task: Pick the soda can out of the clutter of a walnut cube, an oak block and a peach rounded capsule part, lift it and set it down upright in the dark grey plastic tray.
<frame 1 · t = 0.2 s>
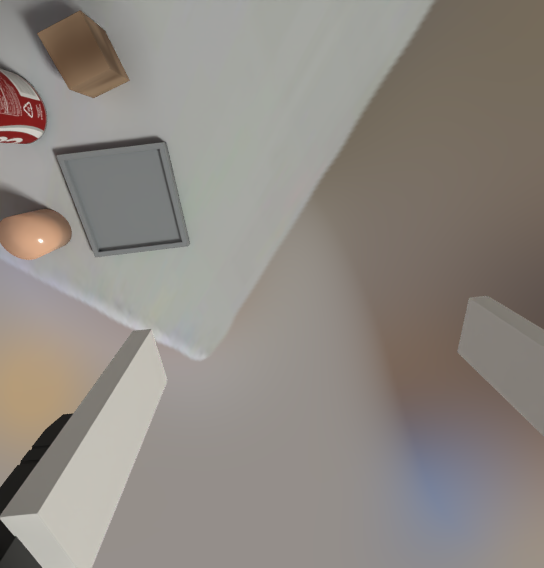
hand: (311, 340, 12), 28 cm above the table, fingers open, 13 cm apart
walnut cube: (99, 65, 30), on the table
tray: (130, 202, 36), on the table
soda can: (19, 110, 32), on the table
peach rounded capsule part: (51, 228, 37), on the table
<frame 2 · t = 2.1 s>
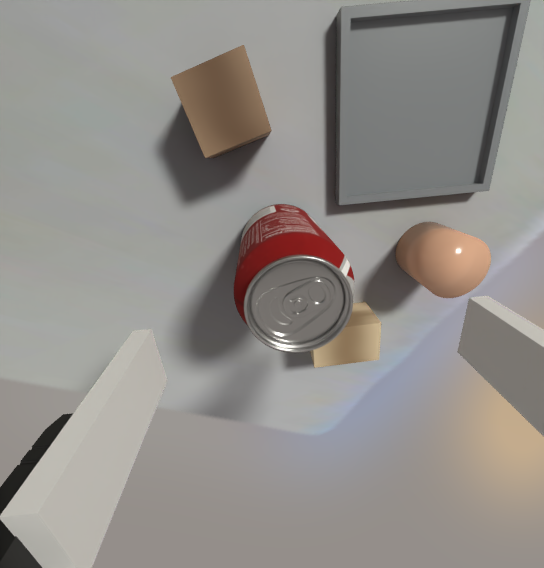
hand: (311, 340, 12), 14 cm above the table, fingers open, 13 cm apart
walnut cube: (229, 114, 21), on the table
oak block: (335, 322, 29), on the table
tray: (416, 112, 22), on the table
soda can: (279, 241, 25), on the table
peach rounded capsule part: (422, 248, 26), on the table
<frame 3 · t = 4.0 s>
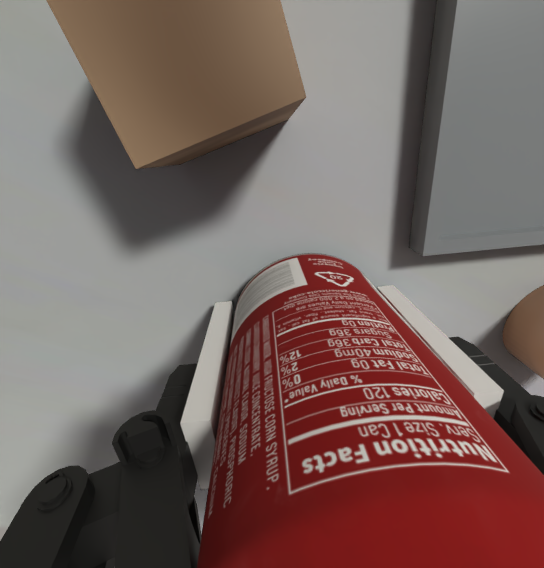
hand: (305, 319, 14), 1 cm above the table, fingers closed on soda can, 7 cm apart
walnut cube: (207, 76, 10), on the table
soda can: (303, 311, 14), on the table, touching gripper
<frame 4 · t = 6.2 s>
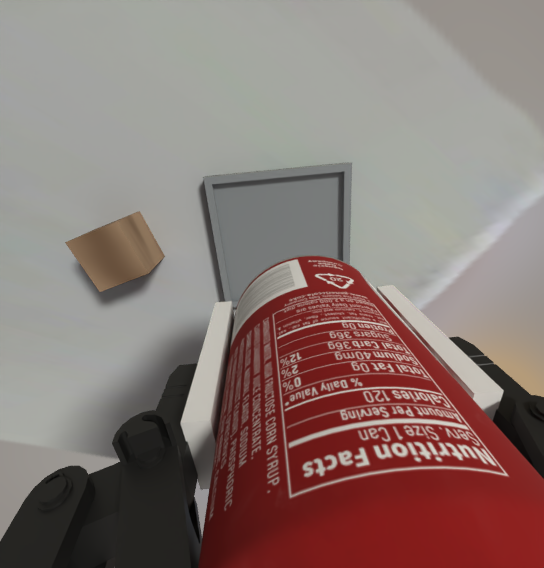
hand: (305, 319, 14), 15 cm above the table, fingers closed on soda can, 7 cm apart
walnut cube: (131, 242, 27), on the table
tray: (282, 238, 27), on the table
soda can: (303, 313, 14), point 14 cm above the table, touching gripper
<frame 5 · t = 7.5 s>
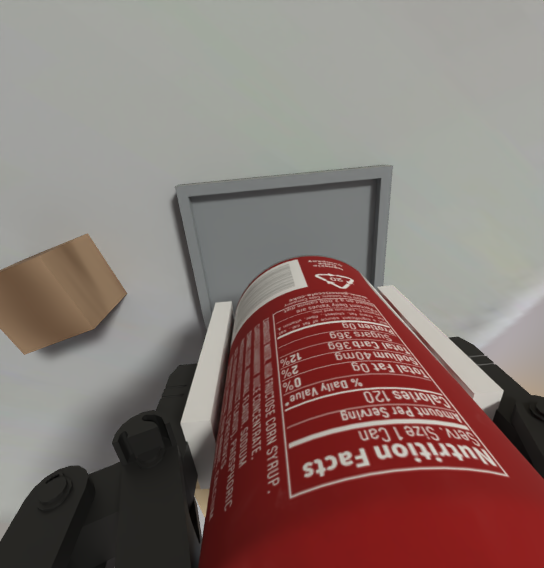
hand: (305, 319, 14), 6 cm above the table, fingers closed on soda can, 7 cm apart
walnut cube: (79, 276, 19), on the table
tray: (288, 269, 20), on the table
soda can: (303, 313, 14), point 6 cm above the table, touching gripper
when the fingers open (3 cm above the table, at t = 8.6 s): soda can drops 2 cm, resting on tray.
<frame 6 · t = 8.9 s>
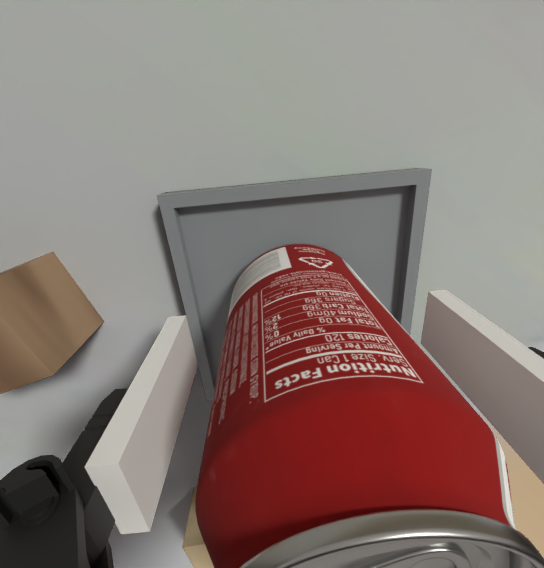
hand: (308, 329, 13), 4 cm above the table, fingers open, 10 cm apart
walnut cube: (45, 301, 16), on the table
oak block: (236, 494, 24), on the table
tray: (298, 293, 16), on the table
soda can: (294, 297, 16), resting on tray
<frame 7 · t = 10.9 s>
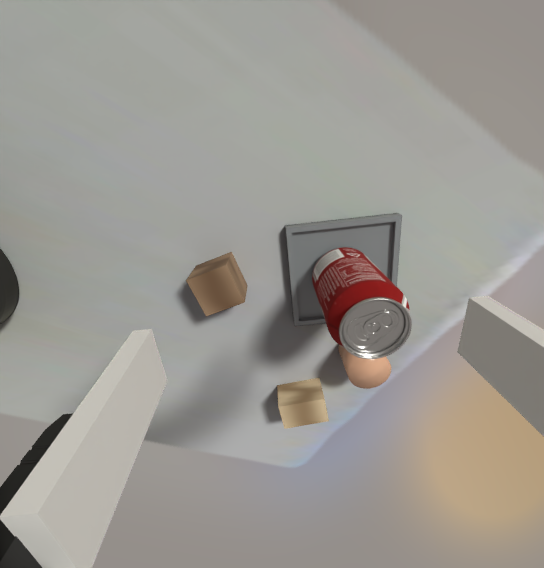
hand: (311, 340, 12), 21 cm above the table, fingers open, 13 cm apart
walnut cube: (222, 275, 34), on the table
oak block: (300, 391, 41), on the table
tray: (341, 271, 34), on the table
soda can: (339, 272, 33), resting on tray
peach rounded capsule part: (357, 346, 38), on the table
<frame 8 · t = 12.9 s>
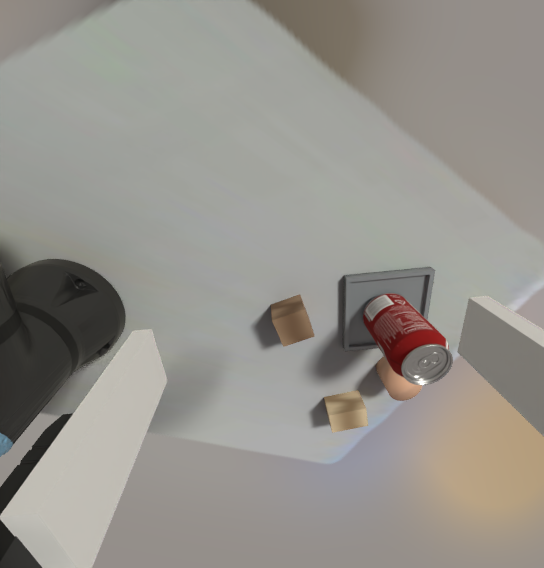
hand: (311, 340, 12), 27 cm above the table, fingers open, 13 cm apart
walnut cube: (290, 311, 42), on the table
oak block: (342, 401, 50), on the table
tray: (384, 309, 43), on the table
soda can: (383, 310, 42), resting on tray
peach rounded capsule part: (391, 365, 47), on the table
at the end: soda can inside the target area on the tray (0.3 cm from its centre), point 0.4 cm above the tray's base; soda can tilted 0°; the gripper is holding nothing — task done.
